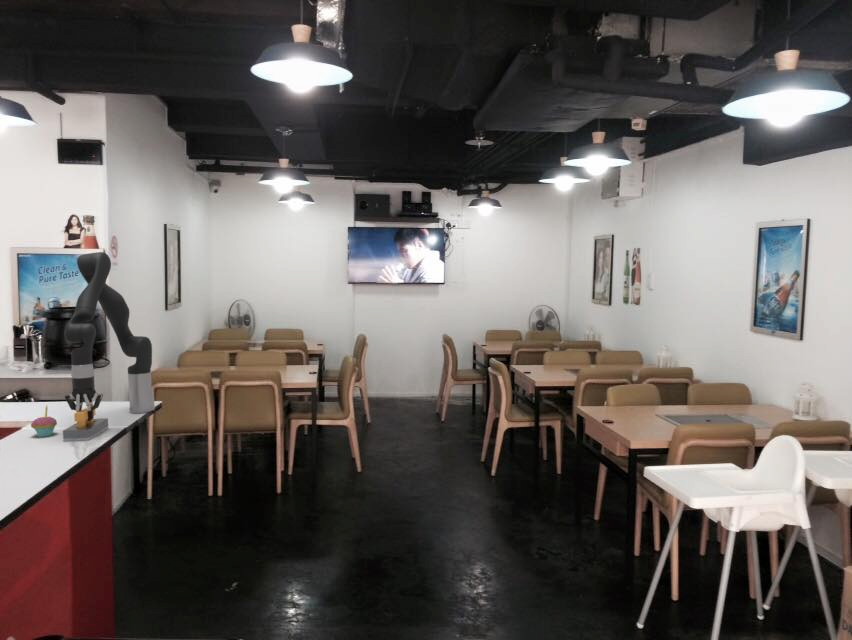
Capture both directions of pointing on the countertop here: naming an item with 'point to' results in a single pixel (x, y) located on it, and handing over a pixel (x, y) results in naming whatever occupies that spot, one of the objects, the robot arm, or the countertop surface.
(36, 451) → the countertop surface
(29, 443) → the countertop surface
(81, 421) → the orange arch block
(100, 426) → the metal panel
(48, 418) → the cupcake
